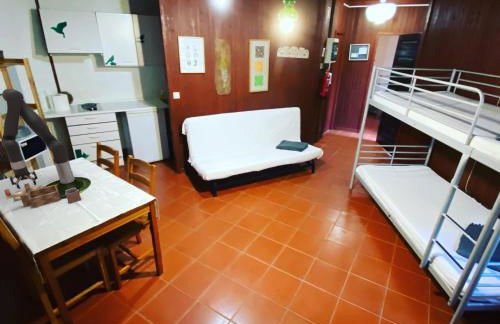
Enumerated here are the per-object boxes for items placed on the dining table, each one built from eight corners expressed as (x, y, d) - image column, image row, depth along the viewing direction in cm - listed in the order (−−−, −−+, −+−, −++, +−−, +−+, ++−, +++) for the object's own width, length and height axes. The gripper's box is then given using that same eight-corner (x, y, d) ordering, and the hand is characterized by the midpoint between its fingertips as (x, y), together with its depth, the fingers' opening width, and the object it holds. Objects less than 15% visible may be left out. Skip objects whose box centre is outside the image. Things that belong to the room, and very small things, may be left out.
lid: (42, 186, 196) (39, 179, 193) (44, 193, 188) (41, 185, 185) (15, 193, 186) (11, 185, 184) (15, 200, 178) (12, 193, 175)
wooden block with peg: (22, 193, 171) (19, 186, 169) (23, 195, 170) (19, 187, 167) (6, 198, 166) (3, 190, 164) (7, 199, 165) (3, 191, 162)
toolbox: (58, 192, 189) (55, 182, 186) (61, 199, 181) (57, 189, 178) (23, 202, 177) (19, 192, 174) (24, 210, 169) (20, 199, 166)
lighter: (80, 197, 184) (77, 185, 180) (82, 199, 182) (78, 187, 178) (67, 202, 179) (63, 189, 175) (68, 204, 177) (64, 191, 173)
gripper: (31, 161, 184) (39, 181, 192) (5, 167, 176) (14, 187, 183) (32, 165, 179) (40, 185, 186) (5, 171, 171) (14, 192, 178)
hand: (27, 186), depth 185 cm, fingers open, 8 cm apart
